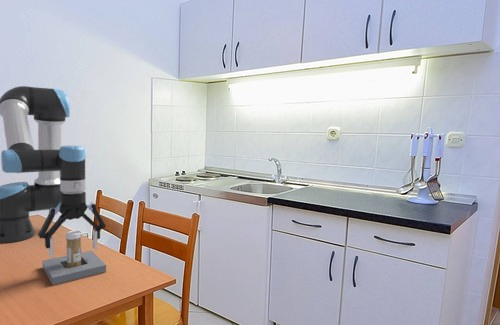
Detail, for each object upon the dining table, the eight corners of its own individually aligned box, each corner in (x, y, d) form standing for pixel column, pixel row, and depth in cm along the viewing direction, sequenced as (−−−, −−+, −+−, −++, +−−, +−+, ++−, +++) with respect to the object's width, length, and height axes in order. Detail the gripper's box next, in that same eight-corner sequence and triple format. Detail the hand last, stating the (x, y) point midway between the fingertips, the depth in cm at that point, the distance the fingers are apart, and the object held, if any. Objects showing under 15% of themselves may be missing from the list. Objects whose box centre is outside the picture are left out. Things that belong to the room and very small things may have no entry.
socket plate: (42, 267, 113) (42, 260, 112) (91, 256, 123) (91, 250, 123) (52, 285, 101) (52, 277, 100) (106, 271, 111) (106, 264, 111)
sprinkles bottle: (81, 271, 111) (80, 233, 109) (65, 273, 109) (65, 234, 108) (81, 266, 115) (81, 229, 114) (67, 268, 113) (66, 230, 112)
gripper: (30, 197, 98) (32, 265, 100) (114, 190, 115) (114, 247, 117) (26, 193, 104) (28, 257, 106) (107, 186, 120) (107, 241, 122)
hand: (73, 252), depth 111 cm, fingers open, 13 cm apart
